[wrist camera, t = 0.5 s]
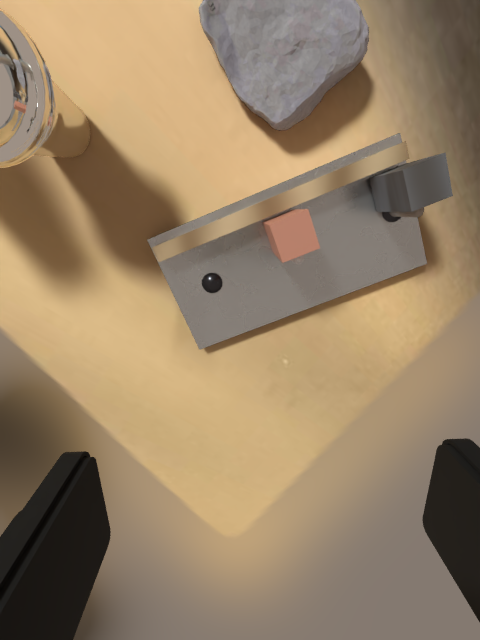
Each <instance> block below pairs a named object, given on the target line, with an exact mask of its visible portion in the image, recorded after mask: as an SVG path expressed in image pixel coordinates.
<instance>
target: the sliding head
mask: <svg viewBox="0 0 480 640" xmlns="http://www.w3.org/2000/svg"><path fill="white" fill-rule="evenodd" d="M262 223H263V225H264V228H265V231H266V234H267V236H268V239H269V242H270V245H271V248H272V250H273V253H274V254H275V255H276V256H277V257H278V259H279V260H280V261H281V262H282V263H284V262H287V261H289V260H292V261H293V262H294V263H295V264H300V263H302V262H303V261H304V254H307V253H309V252H312V251H314V250H317V249H319V248H320V245H319V242H318V239H317V236H316V233H315V229H314V226H313V223H312V220H311V216H310V213H309V210H308V209H294V210H291V211H289V212H286V213H284V214H281V215H279V216H277V217H274V218H272V219H269V220H267V221H265V222H262Z"/></svg>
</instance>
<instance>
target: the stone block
mask: <svg viewBox="0 0 480 640" xmlns="http://www.w3.org/2000/svg"><path fill="white" fill-rule="evenodd" d="M199 14H200V22H201V25H202V28H203V31H204V33H205V34H206V36H207V38H208V40H209V41H210V43H211V45H212V46H213V48H214V50H215V52H216V54H217V56H218V59H219V62H220V64H221V65H222V67H223V68H224V70H225V72H226V75H227V77H228V79H229V82H230V83H231V84H232V86H233V88H234V90H235V92H236V94H237V95H238V97H239V98H240V99H241V100H242V101H243V102H244V103H246V105H247V107H248V108H249V109H250V110H251V111H252V112H253V113H255V114H256V115H258V116H259V117H261V118H263V119H264V120H265V121H266V122H267V123H269V124H270V125H271V127H272V128H274V129H276V130H287V129H289V128H291V127H292V126H293V125H295V124H296V123H298V122H300V121H302V120H304V119H305V118H306V117H307V116H309V115H310V114H311V112H312V111H313V109H314V108H315V107H316V105H317V104H318V103H319V102H321V100H322V98H323V96H324V94H325V93H326V92H327V91H328V90H329V89H330V88H332V87H333V86H334V85H335V84H337V83H338V82H339V81H340V80H341V79H343V78H344V77H345V76H346V75H347V74H348V73H349V72H351V71H352V70H353V69H354V68H355V67H356V66H357V65H358V63H359V62H360V61H361V60H362V59H363V57H364V55H365V54H366V52H367V44H368V41H369V38H368V34H369V27H368V25H367V23H366V20H365V19H364V17H363V14H362V11H361V9H360V7H359V5H358V4H357V2H356V0H203V2H202V3H201V5H200V7H199Z"/></svg>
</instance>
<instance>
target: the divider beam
mask: <svg viewBox="0 0 480 640" xmlns="http://www.w3.org/2000/svg"><path fill="white" fill-rule="evenodd" d="M407 159H409V155H408V150H407V145H406V141H405V142H402V143H400V144H397V145H395V146H393V147H390V148H388V149H385V150H383V151H381V152H378V153H376V154H374V155H371V156H369V157H366V158H364V159H362V160H359V161H357V162H354V163H352V164H350V165H347V166H345V167H343V168H340V169H338V170H335V171H333V172H331V173H328V174H326V175H323V176H321V177H319V178H316V179H314V180H312V181H309V182H307V183H304V184H302V185H300V186H297V187H295V188H293V189H290V190H288V191H285V192H283V193H281V194H278V195H276V196H273V197H271V198H269V199H266V200H264V201H262V202H259V203H257V204H254V205H252V206H250V207H247V208H245V209H243V210H240V211H238V212H235V213H233V214H231V215H228V216H226V217H223V218H221V219H219V220H216V221H214V222H212V223H209V224H207V225H204V226H202V227H200V228H197V229H195V230H192V231H190V232H188V233H185V234H183V235H181V236H178V237H176V238H173V239H171V240H169V241H166V242H164V243H162V244H159V245H157V246H154V247H152V250H153V252H154V254H155V256H156V258H157V260H158V262H161V261H163V260H166V259H168V258H171V257H173V256H175V255H178V254H180V253H183V252H185V251H188V250H190V249H192V248H195V247H197V246H200V245H202V244H204V243H207V242H209V241H212V240H214V239H217V238H219V237H221V236H224V235H226V234H229V233H231V232H233V231H236V230H238V229H241V228H243V227H246V226H248V225H250V224H253V223H255V222H258V221H260V220H262V219H265V218H267V217H270V216H272V215H275V214H277V213H279V212H282V211H284V210H287V209H289V208H291V207H294V206H296V205H299V204H301V203H304V202H306V201H308V200H311V199H313V198H316V197H318V196H320V195H323V194H325V193H328V192H330V191H333V190H335V189H337V188H340V187H342V186H345V185H347V184H349V183H352V182H354V181H357V180H359V179H362V178H364V177H366V176H369V175H371V174H374V173H376V172H378V171H381V170H383V169H386V168H388V167H391V166H393V165H395V164H398V163H400V162H403V161H405V160H407ZM369 181H370V185H371V189H372V193H373V197H374V201H375V205H376V209H377V212H390V215H391V216H393V217H420V216H421V215H422V214H423V212H424V207H425V206H428V205H430V204H433V203H435V202H438V201H440V200H443V199H446V198H448V197H451V196H453V195H452V189H451V183H450V177H449V171H448V166H447V160H446V154H445V153H442V154H439V155H435V156H431V157H428V158H424V159H421V160H417V161H413V162H410V163H406V164H403V165H400V166H398V167H395V168H393V169H391V170H388V171H386V172H383V173H381V174H378V175H376V176H374V177H371V178H369Z"/></svg>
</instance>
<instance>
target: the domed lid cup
mask: <svg viewBox="0 0 480 640" xmlns="http://www.w3.org/2000/svg"><path fill="white" fill-rule="evenodd" d="M89 140H90V126H89V123H88V120H87V118H86V116H85V114H84V113H83V111H82V110H81V109H80V108H79V107H78V106H77V105H76V104H75V103H74V102H73V101H72V100H71V99H70V98H69V97H68V96H67V95H66V94H65V93H64V91H63V90H62V89H61V88H60V87H59V86H58V85H57V84H56V83H55V82H54V81H53V80H52V79H51V76H50V73H49V70H48V67H47V65H46V62H45V59H44V57H43V56H42V54H41V52H40V50H39V48H38V46H37V44H36V43H35V42H34V40H33V39H32V38H31V36H30V35H29V34H28V32H27V31H26V30H25V28H24V27H23V26H21V25H20V24H19V23H18V22H17V21H16V20H15V19H14V18H13V17H12V16H11V15H10V14H8V13H7V12H5V11H4V10H2V9H1V8H0V168H6V167H10V166H14V165H18V164H20V163H22V162H24V161H26V160H27V159H29V158H31V157H32V156H33V155H36V156H49V157H64V158H72V157H76V156H78V155H80V154H81V153H82V152H84V150H85V149H86V148H87V146H88V144H89Z"/></svg>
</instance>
